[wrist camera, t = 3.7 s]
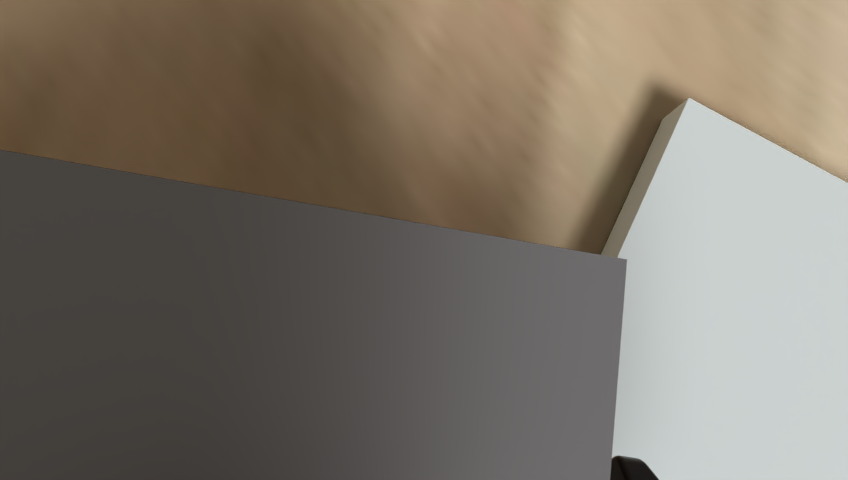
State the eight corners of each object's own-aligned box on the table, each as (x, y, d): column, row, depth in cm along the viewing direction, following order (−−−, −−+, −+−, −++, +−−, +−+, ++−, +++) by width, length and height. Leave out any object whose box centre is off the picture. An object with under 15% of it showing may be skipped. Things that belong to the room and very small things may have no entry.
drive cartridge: (395, 553, 15) (546, 1293, 3) (217, 529, 15) (-402, 1256, 3) (428, 330, 16) (629, 233, 4) (265, 303, 16) (-16, 117, 4)
